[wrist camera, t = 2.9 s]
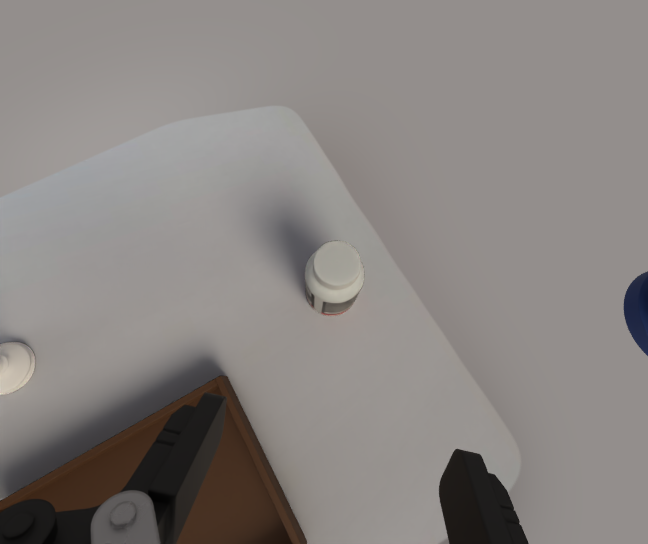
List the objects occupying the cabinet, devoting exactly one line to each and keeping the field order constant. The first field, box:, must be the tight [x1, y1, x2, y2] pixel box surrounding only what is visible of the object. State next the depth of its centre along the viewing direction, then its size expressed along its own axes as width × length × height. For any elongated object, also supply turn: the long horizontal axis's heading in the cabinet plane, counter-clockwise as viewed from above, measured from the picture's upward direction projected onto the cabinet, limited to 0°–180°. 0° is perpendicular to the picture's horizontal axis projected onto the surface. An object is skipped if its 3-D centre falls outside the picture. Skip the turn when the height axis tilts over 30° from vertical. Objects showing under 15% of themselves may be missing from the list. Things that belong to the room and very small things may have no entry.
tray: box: [0, 376, 307, 544], centre depth 30 cm, size 21×16×3 cm
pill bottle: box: [305, 240, 364, 316], centre depth 34 cm, size 5×5×10 cm
